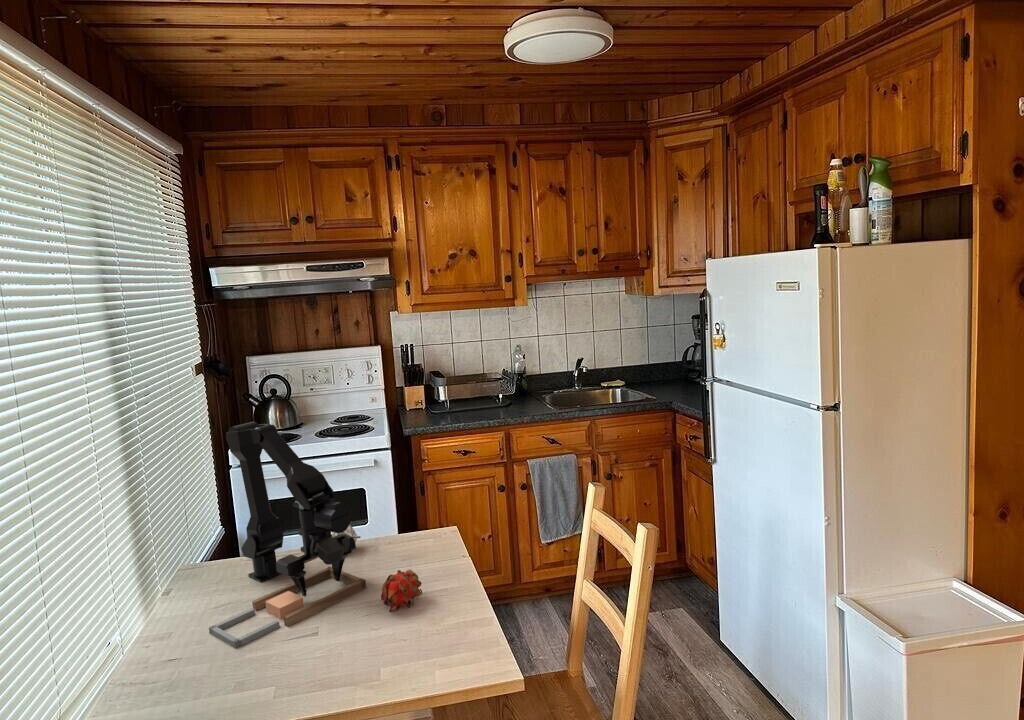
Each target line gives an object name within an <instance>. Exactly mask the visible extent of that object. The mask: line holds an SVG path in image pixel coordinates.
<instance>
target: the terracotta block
mask: <svg viewBox="0 0 1024 720" xmlns="http://www.w3.org/2000/svg"><path fill="white" fill-rule="evenodd" d="M265 603H266V606H265V609H266V613H267V614H269V615H271V616H272V617H275V618H277V619H279V620H281V621H282V620H284V616H286V615H288V614H290V613H292V612H294V611H296V610H298V609H300V608H302V607H304V606H305V602H304V596H301V595H300V594H299V595H298V594H297V593H292V592H290V591H287V592H285V593H283V594H281V595H278V596H276V597H274V598H272V599H270V600H267V601H265Z"/></svg>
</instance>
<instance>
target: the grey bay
mask: <svg viewBox="0 0 1024 720" xmlns="http://www.w3.org/2000/svg"><path fill="white" fill-rule="evenodd" d="M255 615H256V611H255V609H253V607H251V608H249V609H247V610H244V611H242V612H240V613H238V614H236V615H234V616H231V617H229V618H226V619H224V620H222V621H220V622H218V623H215V624H213V625H212V626H209V627H208V631H209V633H210V635H213V636H214V637H216V638H218V639H219V640H221V641H223V642H225V643H226V644H228V645H229V646H231V647H233V648H235V649H237V648H239V647H241V646H244V645H245V644H247V643H249V642H251V641H254V640H256V639H258V638H260V637H262V636H264V635H266V634H268V633H270V632H272V631H274V630H276V629H278V628H280V627H281V626H280V621H279V620H277V619H276V620H275V619H274V620H273V621H272V622H269V623H267V624H265V625H263V626H261V627H258V628H257V629H254V630H251V632H249V633H248V632H247V633H246V634H244V635H242V636H240V637H238V638H237V637H236V636H234V635H232V634H230V633H229V632H228V631H225V630H224V629H227V628H229V627H231V626H233V625H235V624H237V623H239V622H242V621H244V620H246V619H248V618H250V617H251V618H252V616H255Z"/></svg>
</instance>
